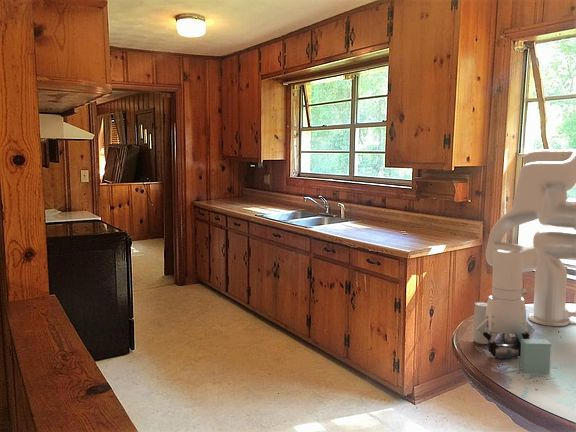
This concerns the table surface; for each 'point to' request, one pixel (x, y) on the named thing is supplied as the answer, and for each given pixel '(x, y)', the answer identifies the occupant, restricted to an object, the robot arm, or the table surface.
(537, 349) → the block
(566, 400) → the table surface
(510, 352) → the roller
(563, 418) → the table surface
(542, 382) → the table surface
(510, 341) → the cylinder
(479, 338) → the beverage can
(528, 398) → the table surface
